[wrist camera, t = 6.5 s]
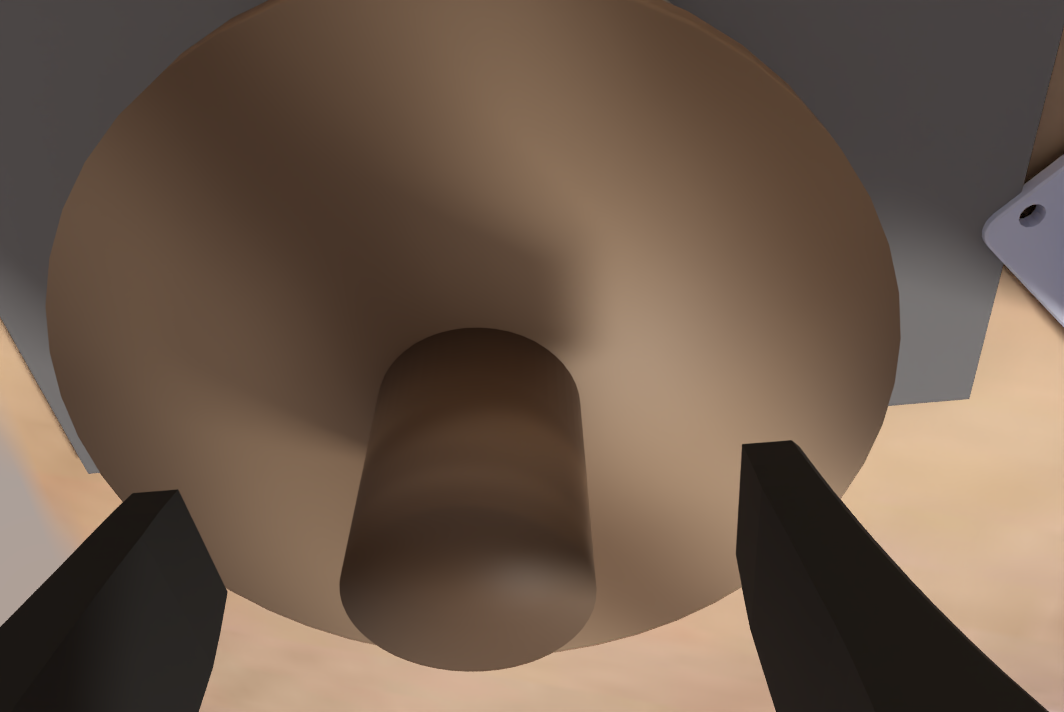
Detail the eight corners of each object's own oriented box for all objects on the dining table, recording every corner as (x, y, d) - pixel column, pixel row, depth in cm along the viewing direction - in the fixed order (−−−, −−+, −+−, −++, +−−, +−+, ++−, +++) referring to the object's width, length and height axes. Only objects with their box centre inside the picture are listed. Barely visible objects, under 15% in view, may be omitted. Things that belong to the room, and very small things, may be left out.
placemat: (-335, -317, 13) (-356, -317, 13) (1186, -525, 12) (1205, -531, 12) (94, 462, 22) (88, 473, 22) (962, 388, 21) (968, 399, 21)
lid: (498, -323, 9) (483, -352, 5) (1022, 399, 15) (1180, 614, 11) (-88, 359, 14) (-295, 576, 10) (473, 697, 20) (463, 909, 16)
